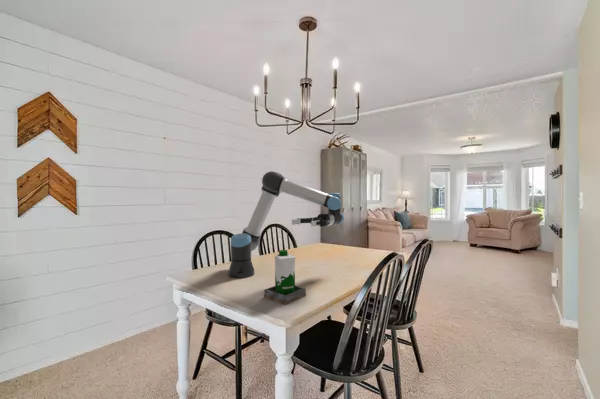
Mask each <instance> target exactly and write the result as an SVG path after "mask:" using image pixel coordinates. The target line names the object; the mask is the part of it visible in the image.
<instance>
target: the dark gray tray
mask: <svg viewBox="0 0 600 399" xmlns="http://www.w3.org/2000/svg"><path fill="white" fill-rule="evenodd" d="M306 291H307V290H306V288H305V287H302V286H298V285H295V292H293V293H290V294H288V295H283V294H279V293H276V287H275V285H274V286H271V287H268V288H265V289H264V291H263V298H265V299H267V300H271V301H274V302H276V303H281V304H282V305H287V304H290V303H292V302H294V301H298V300H299V299H301V298H304V297H306V296H307V293H306Z"/></svg>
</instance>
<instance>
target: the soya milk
mask: <svg viewBox="0 0 600 399" xmlns="http://www.w3.org/2000/svg"><path fill="white" fill-rule="evenodd" d="M288 252H289V251H288V250H287V249H281V250H280V249H279V251H278V254H275V255H274V274H275V275H274V283H275V285H274V286H275V287H276V293H279V294H283V295H288V294H290V293H293V292H295V286H296V271H295V270H296V266H295V265H296V256H294V255H292V254H290V253H288Z"/></svg>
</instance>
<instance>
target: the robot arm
mask: <svg viewBox="0 0 600 399" xmlns="http://www.w3.org/2000/svg"><path fill="white" fill-rule="evenodd" d="M261 184H262V187H261V189H260V190H261V192H262V193H261V195H260V196H259V199H258V201H257V204H256V207H255V209H254V210H253V213H252V215H251V217H250V220H249V222H248V225H247V226H246V227H243V230H242V232H241V233H237V234H233V235H232V236H231V237H230V265H229V269H228V272H227V273H228V277H230V278H234V279H235V278H236V279H241V278H243V279H244V278H250V277H252V276H254V275H255V268H254V266H253V265H254V264H253V261H252V252H253V251H255V250H256V249H257V247H258V246H259V243H260V238H261V237H262V233H261V231H262V228H263V227H264V224H265V222H266V220H267V217H268V214H269V213H270V211H271V207H272V205H273V203H274V201H275V199H276V198H278V197H279V195H280V194H281V193H284V194H287V195H290V196H293V197H295V198H297V199H301V200H304V201H307V202H310V203H313V204H317V205H319V206H321V207H324V208H327V209H328V210H327V212H324V213H319V214H318V215H317V216H314V217H303V218H300V217H299V218H294V219H291V225H293V226H294V225H300V224H310V226H311V227H317V226H319V227H322V228H323V227H327V228H328V227H329V226H335V225H339V224H342V223H343V222H344V220H345V217H344V214H343V213H342V212H341V206H342V200H341V198H342V197H341V193H340V192H329V193H325V192H324V191H320V190H318V189H315V188H312V187H310V186H306V185H303V184H300V183H297V182H294V181H292V180H289V179H287V177H285V176H284V175H282V174H281V173H280V172H276V171H267V172H265V173H264V174H263V176H262V179H261Z"/></svg>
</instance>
